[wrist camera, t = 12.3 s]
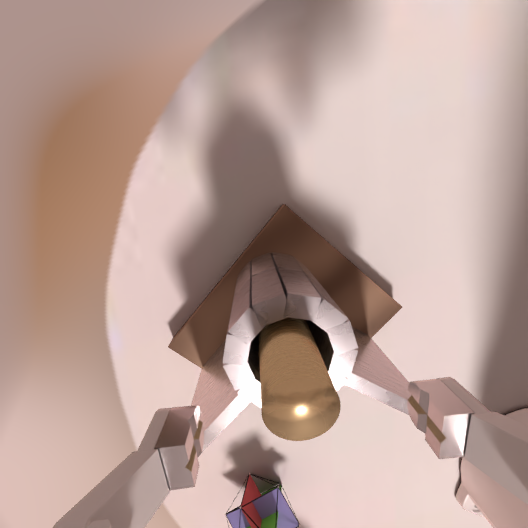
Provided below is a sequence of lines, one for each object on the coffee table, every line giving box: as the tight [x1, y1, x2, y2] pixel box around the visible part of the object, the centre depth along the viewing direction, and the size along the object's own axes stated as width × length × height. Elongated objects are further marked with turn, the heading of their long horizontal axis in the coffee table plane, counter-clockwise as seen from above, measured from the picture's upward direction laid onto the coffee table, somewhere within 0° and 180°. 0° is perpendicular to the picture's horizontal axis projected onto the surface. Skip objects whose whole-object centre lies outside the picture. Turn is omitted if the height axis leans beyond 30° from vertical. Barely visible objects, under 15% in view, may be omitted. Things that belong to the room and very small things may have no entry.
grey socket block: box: [191, 252, 411, 452], centre depth 18 cm, size 13×13×9 cm
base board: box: [168, 204, 402, 368], centre depth 22 cm, size 14×16×2 cm
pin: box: [259, 317, 340, 441], centre depth 15 cm, size 3×3×12 cm
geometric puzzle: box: [225, 473, 300, 528], centre depth 26 cm, size 7×7×8 cm
